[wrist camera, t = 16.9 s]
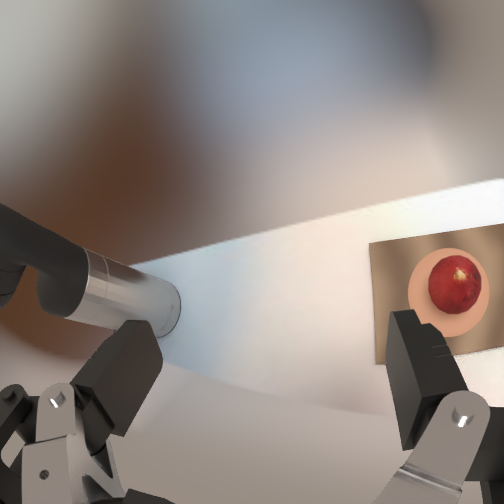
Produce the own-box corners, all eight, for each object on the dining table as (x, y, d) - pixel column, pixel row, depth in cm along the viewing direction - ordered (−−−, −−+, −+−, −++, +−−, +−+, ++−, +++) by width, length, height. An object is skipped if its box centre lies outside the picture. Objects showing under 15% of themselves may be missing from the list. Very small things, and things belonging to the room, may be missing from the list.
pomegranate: (472, 267, 28) (489, 242, 22) (472, 318, 27) (492, 306, 20) (426, 266, 31) (431, 241, 24) (424, 318, 30) (431, 306, 23)
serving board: (376, 363, 32) (375, 363, 30) (369, 246, 36) (368, 242, 35) (519, 342, 24) (523, 341, 23) (502, 227, 29) (505, 222, 28)
